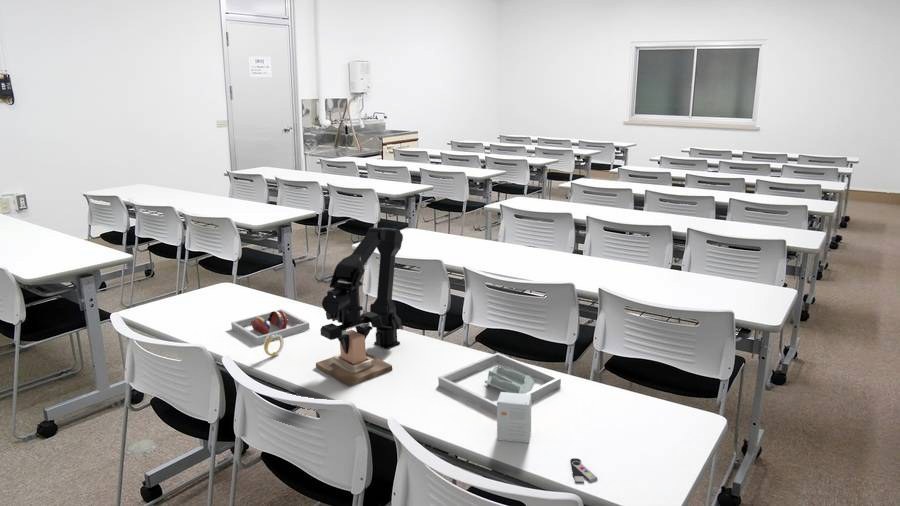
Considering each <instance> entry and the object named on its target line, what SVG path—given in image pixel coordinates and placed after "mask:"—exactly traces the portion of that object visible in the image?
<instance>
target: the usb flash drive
mask: <svg viewBox="0 0 900 506" xmlns="http://www.w3.org/2000/svg"><path fill="white" fill-rule="evenodd" d="M569 461H570V466H571V472H573V473H572V476H574V477H573V478H574V482H575V483H585V479H584V477H586V478H587V480H589V483H593V482H595V481H594V480H597V481H598V479H599V478H598V477H597V475H595V474H594V473H593V472H591V470H589V469H588V468H587V467H586V466H585V465H584V464H582V460H581V459H580V458H576V457H575V458H574V457H573V458H570V460H569ZM592 481H593V482H592Z"/></svg>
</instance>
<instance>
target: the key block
mask: <svg viewBox="0 0 900 506" xmlns="http://www.w3.org/2000/svg"><path fill="white" fill-rule="evenodd" d="M346 334H347V335H349V350H348V354H346V353H345V352H344V350H343V348H342V345H341V343H340V342H339V347H340V354H341V358H343V359H345V360H347V361H348V362H350V363H352V364H357V363H359V362H362V361H365V360H366V353H367V352H366V339H365V336H364V335H362V334H360V333H358V332H357V330H355V329H348V330H346Z"/></svg>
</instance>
